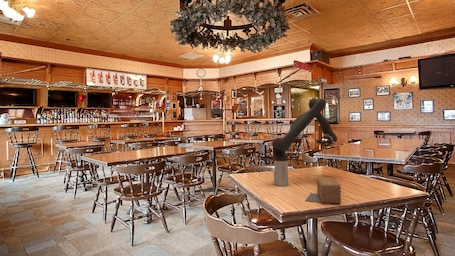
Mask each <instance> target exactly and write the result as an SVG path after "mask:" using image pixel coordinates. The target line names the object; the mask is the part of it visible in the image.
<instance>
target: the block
mask: <svg viewBox="0 0 455 256" xmlns="http://www.w3.org/2000/svg"><path fill="white" fill-rule="evenodd" d="M316 181H317V182H316V194H318V195H319V197H320V199H321V201H322V202H323V203H322V204H327V203H332V204H341V202H342V200H341V199H342V193H341V192H342V190H341V187H342V186H341V184H340V183H339V182H338V181H337V179H335V177H325V176H324V177H323V176H322V177H321V176H320V177H317V178H316Z"/></svg>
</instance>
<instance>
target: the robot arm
mask: <svg viewBox="0 0 455 256" xmlns="http://www.w3.org/2000/svg"><path fill="white" fill-rule="evenodd" d="M326 105H327V102H326V100H325V99H324V98H317V97H314V98H313V97H312V98H311V99H310V100H309V101H308V107H309V110H307V111H306V112H304V113H302V114H300V115H298V116H297V117H296V118H295V119H294V121H293V122H292V123H291V125H290V128H289V131H288V132H287V133H286V134H284V136H283V137H276V138H274V139H273V141H272V155H273V158H274V159H273V160H274V162H273V163H274V170H273V185H274V186H276V187H278V186H279V187H286V186H289V164H288V163H289V162H288V159H289V157H288V155H286V153H285V152H286V151H288V150H289V148H290V147H291V146H292V144H293V143H294V141H295V140H296V139H297V138H298V137H299V136H300V134H302V133H303V131H304V130H305V129H306V128H307V127H308V126H309V124H311V122H312V121H314V119H315V120H316V121H317V122H318V125H319V127H320V130H321V132H322V135H323V136H321V138H320V139H315V143H316V144H319V145H322V146H323V147H329V146H330V145H335V143H336V142H337V141H338V136H337V135H336V133H335V132H334V131H333V130H332V128H331V125H330V122H329V120H328V119H327V118H326V117H325V116H324V114H322V112H323V111H324V110H325V109H326V107H327V106H326Z"/></svg>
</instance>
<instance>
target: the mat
mask: <svg viewBox="0 0 455 256" xmlns="http://www.w3.org/2000/svg"><path fill="white" fill-rule="evenodd" d="M304 201H305V202H310V203H318V204H319V203H320V204H324V203H323V202H322V201H321V199H320V197H319V195H318V193H317V192H316V193H314V192H310V194H308V196H307V197H306V199H305V200H304ZM326 204H329V205H333V203H326Z"/></svg>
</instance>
